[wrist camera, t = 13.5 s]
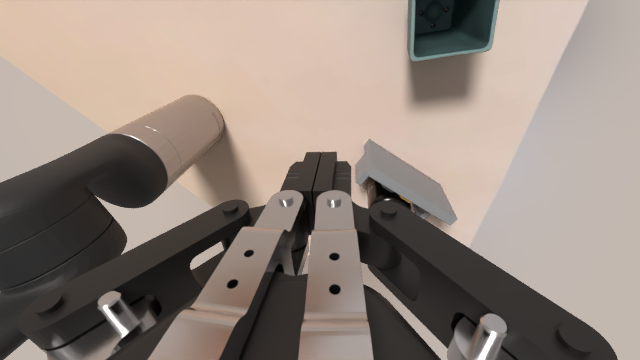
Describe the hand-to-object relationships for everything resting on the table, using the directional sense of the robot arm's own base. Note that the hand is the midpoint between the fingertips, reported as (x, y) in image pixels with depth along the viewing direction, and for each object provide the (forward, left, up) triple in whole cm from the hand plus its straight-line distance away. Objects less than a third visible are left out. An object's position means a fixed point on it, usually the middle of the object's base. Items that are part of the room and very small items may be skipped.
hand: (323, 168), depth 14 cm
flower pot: (+12, +6, -32) cm, 35 cm away
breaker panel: (+9, -19, -32) cm, 38 cm away
